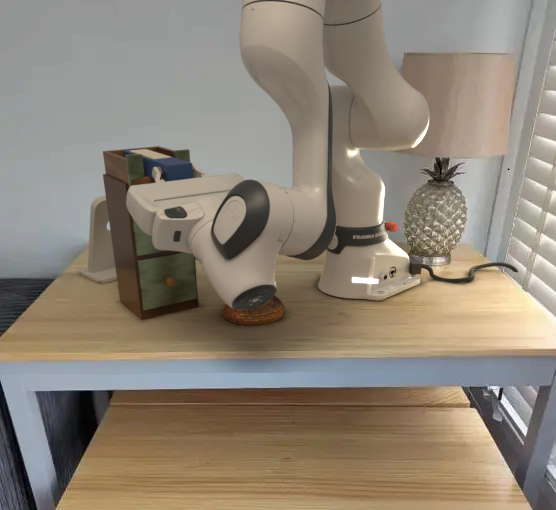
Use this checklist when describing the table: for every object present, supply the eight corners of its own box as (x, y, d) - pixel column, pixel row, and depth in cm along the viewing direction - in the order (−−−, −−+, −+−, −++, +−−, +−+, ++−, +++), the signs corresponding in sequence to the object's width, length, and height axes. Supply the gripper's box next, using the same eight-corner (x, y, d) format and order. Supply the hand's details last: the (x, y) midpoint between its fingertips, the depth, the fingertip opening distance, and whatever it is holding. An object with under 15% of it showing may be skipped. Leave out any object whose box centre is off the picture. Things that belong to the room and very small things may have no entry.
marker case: (147, 165, 115) (145, 147, 113) (193, 181, 100) (192, 161, 99) (124, 167, 113) (122, 149, 111) (168, 184, 98) (167, 164, 97)
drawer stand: (174, 289, 130) (160, 141, 116) (202, 309, 120) (191, 149, 106) (120, 301, 124) (98, 146, 110) (145, 323, 114) (125, 156, 100)
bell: (296, 317, 116) (296, 280, 113) (242, 332, 110) (240, 294, 107) (263, 298, 125) (263, 264, 121) (211, 311, 119) (209, 275, 116)
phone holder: (142, 256, 151) (133, 181, 142) (167, 265, 144) (159, 187, 136) (78, 273, 140) (65, 193, 131) (102, 284, 133) (90, 200, 125)
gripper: (270, 201, 97) (231, 146, 103) (150, 219, 88) (114, 157, 93) (260, 230, 102) (224, 177, 108) (145, 251, 93) (112, 190, 98)
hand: (172, 168), depth 101 cm, fingers closed on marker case, 4 cm apart
